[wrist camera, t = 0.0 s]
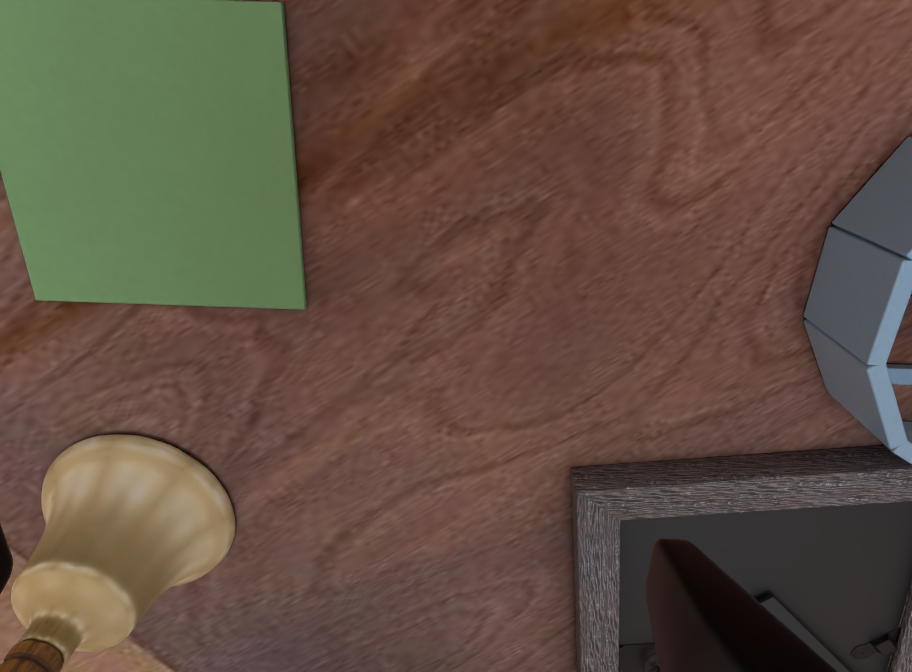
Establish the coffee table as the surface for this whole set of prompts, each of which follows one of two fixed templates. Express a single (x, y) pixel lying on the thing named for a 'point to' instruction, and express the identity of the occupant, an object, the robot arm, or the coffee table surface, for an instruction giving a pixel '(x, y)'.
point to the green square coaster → (152, 151)
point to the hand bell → (114, 545)
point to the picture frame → (753, 549)
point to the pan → (867, 301)
